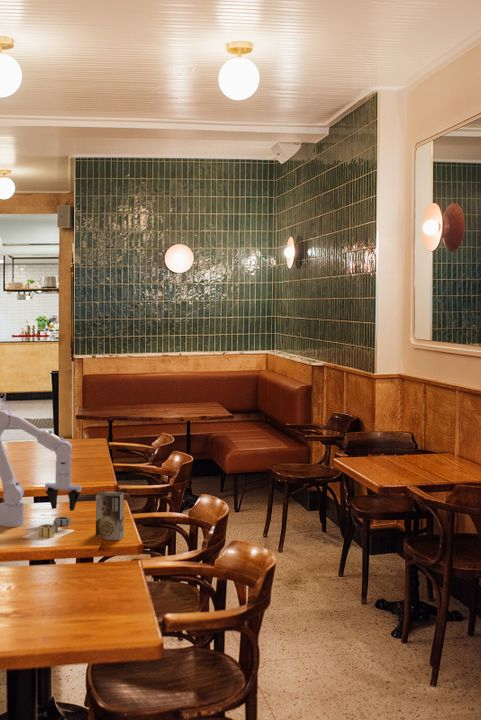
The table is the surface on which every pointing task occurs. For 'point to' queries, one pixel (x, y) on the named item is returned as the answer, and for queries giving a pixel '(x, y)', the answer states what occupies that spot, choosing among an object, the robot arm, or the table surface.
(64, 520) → the steel gear
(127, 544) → the table surface
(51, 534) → the brass gear
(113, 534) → the coffee box
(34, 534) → the gear board
